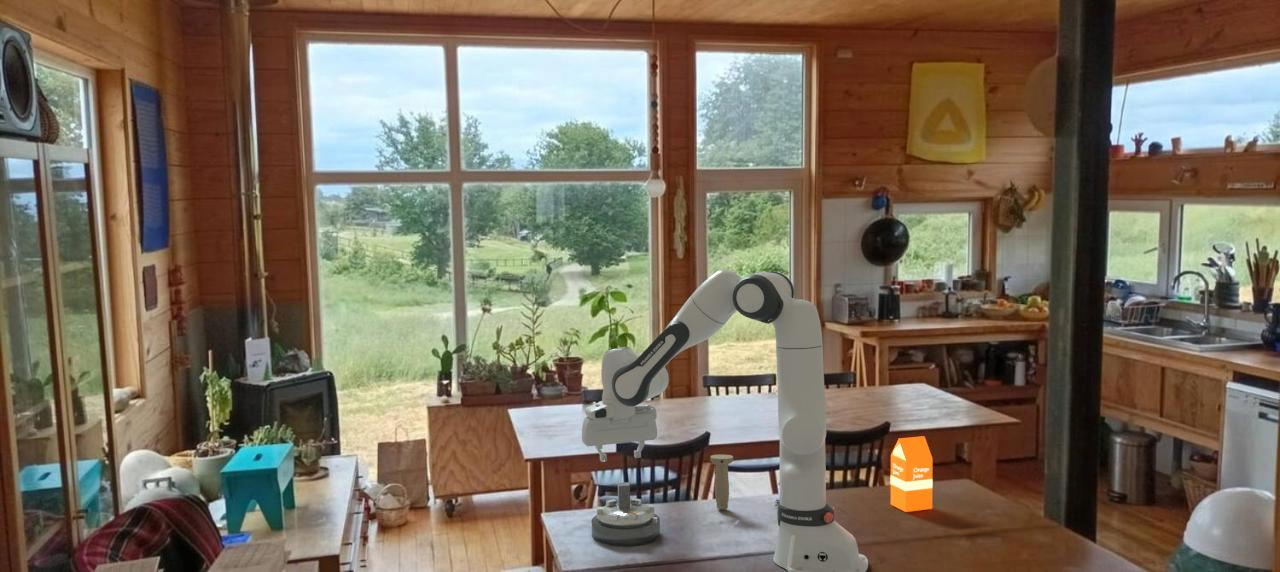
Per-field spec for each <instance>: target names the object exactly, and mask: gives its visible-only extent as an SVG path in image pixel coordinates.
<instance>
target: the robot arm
mask: <svg viewBox="0 0 1280 572" xmlns="http://www.w3.org/2000/svg"><path fill="white" fill-rule="evenodd" d="M794 297H795V289H794V284H793V282H792V281H791V280H790V278H789V277H788V276H787V275H785V274H783V273H781V272H778V271H760V272H756V273H753V274H749V275H746V276H744V277H743V278H742V277H741V276H739V275H738V274H737V273H736V272H734V271H733V270H729V269H724V268H723V269H719V270H717V271H715V272H714V273H713V274H711V275H710V276H709V277H708V278H707V279H705V280H704V281H703V282H702V283H701V284H700V285H699V286H698V287H697V288H696V289H695V291H694V292H693V293H692V294H691V295H690V297H688V299H687V300H686V301H685V303H684V304H683V305H682V306H681V308H679V310H678V312H677V313H676V314H675V316H674V317H673V318H672V320H670V322H669V323H668V324H667V326H665V328H664V330H663V331H662V332H661V333H659V335H658V336H657V337H656V338H655V339H654V340H653V342H651V343H650V344H649V346H648V347H647V348H645V350H644V351H643V352H642V353H641V354H639V353H637V352H636V351H634V350H633V348H632V347H630V346H620V347H616V348H612V349H608V350H606V351H605V352H604V354H603V356H602V360H601V384H602V388H603V389H602V394H601V400H600V401H599V402H596V403H593V404H591V405H589V406H587V407H585V410H584V413H585V415H586V417H585V418H584V419H583V421H582V428H581V441H582V444H583V445H585V446H586V447H595V449H596V451H597V452H598V454H599V461H600V462H602V463H603V462H607V461H608V459H607V457H608V454H606V453H605V452H604V453H603V451H602V450H603V446H606V445H615V444H616V445H617V444H627V443H635V442H637V444H638V446H637V449H635V450H633V457H634V458H635V459H639V458H641V457H642V450H643V449H644V447H645V445H646V441H647V442H648V441H654V440H656V439H657V437H658V427H657V422H656V420H657V414H658V413H657V409H656V408H655V407H654V406H652V405H650V404H649V405H648V404H647V405H641V404H642V403H643V402H646V401H648V400H650V399H652V398H654V397H657V396H659V395H660V394H662V393H663V392H665V391H666V389H667V388H668V387H669V384H670V374H669V371H668V369H667V368H666V366H667V365H668V364H669V362H671V360H673V359H674V358H675V357H676V356H677V355H678V354H680V353H681V352H683V351H685V350H686V349H689V348H691V347H693V346H696V345H698V344H700V343H703V342H705V341H707V340H708V339H710V338H711V337H712V336H714V335H715V334H717V333H718V331H719V330H721V329H722V327H724V325H725V324H726V323H727V322H728V321H729V319H731V317H732V316H733V315H734V314H735V313H736V312H738V313H739V314H740V315H742V316H743V317H745V318H748V319H750V320H754V321H757V322H761V323H764V324H772V325H773V328H774V331H775V350H776V351H775V354H776V377H777V384H776V385H777V409H778V410H777V413H778V414H777V417H778V436H779V500H780V502H779V503H778V506H777V509H776V510H777V512H776V513H777V526H778V534H777V541H776V547H775V549H774V550H775V551H774V554H773V557H772V560H773V562H774V564H776V565H777V566H779V567H781V568H783V569H785V570H787V572H867V571H868V568H869V561H868V557H867V556H866V555H864V554H862V553H859V547H858V543H857V540H856V538H855V536H854V535H853V534H852V533H851V532H849V531H848V530H847V529H845V528H844V527H843V526H841V525H840V524H839V523H838V522H837V521H836V520H835V506H832V507H831V506H830V505H829V504H828V503H827V498H826V496H827V489H826V488H827V486H826V485H827V482H826V480H827V478H826V477H827V475H826V474H827V472H826V471H827V470H826V437H827V416H826V415H827V414H826V412H827V410H826V395H825V394H826V393H825V374H824V373H825V372H824V368H825V367H824V349H823V348H824V345H823V333H822V331H823V330H822V326H821V319H820V316H819V311H818V308H817V307H816V305H815V304H814V303H813V302H811V301H809V300H806V299H802V298H801V299H800V298H794Z"/></svg>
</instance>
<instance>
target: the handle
mask: <svg viewBox="0 0 1280 572" xmlns="http://www.w3.org/2000/svg"><path fill="white" fill-rule="evenodd" d="M710 462H711V463H713V464H715V484H714V493H715V495H714V496H715V501H716V509H718V510H727V509H728V508H729V507H728V506H729V500H730V496H729V495H730V482H729V465H730V464H732V463H733V462H734V456H733V455H732V454H712V455H710Z"/></svg>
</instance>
